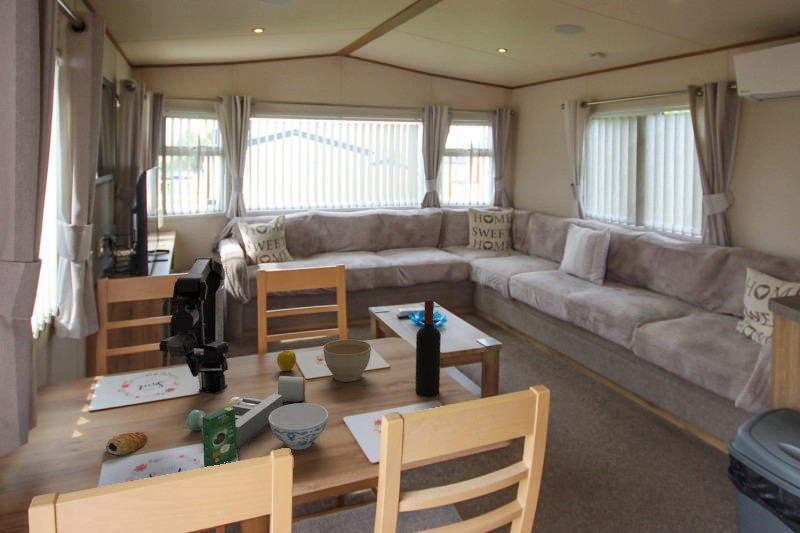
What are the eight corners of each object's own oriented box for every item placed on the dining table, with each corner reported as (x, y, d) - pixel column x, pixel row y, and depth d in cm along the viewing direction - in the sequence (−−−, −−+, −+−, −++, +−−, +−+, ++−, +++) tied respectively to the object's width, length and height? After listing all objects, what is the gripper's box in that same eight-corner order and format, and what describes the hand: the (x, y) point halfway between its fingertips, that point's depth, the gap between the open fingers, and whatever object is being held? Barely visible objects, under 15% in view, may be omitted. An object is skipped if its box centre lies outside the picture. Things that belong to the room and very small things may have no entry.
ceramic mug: (305, 404, 170) (305, 380, 169) (277, 406, 169) (277, 381, 168) (305, 391, 181) (305, 368, 179) (279, 392, 179) (278, 369, 178)
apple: (274, 373, 195) (274, 351, 193) (281, 366, 201) (281, 345, 199) (292, 374, 194) (292, 352, 192) (299, 368, 200) (298, 346, 198)
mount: (203, 441, 147) (202, 420, 146) (249, 409, 167) (248, 389, 166) (239, 449, 144) (238, 427, 143) (282, 414, 163) (282, 395, 162)
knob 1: (187, 432, 152) (186, 414, 151) (200, 424, 156) (199, 406, 156) (215, 438, 149) (214, 419, 148) (227, 429, 154) (226, 411, 153)
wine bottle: (411, 394, 178) (413, 301, 173) (420, 386, 185) (421, 296, 180) (434, 398, 175) (436, 304, 170) (442, 389, 182) (444, 298, 177)
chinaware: (269, 432, 153) (268, 405, 151) (325, 427, 156) (325, 400, 155) (269, 461, 138) (268, 431, 137) (331, 454, 142) (331, 425, 140)
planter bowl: (376, 370, 198) (376, 341, 196) (363, 388, 183) (363, 356, 181) (333, 366, 202) (332, 337, 200) (316, 383, 186) (315, 352, 184)
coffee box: (230, 453, 142) (227, 404, 139) (238, 457, 140) (235, 407, 138) (203, 468, 135) (200, 416, 132) (211, 471, 133) (208, 419, 131)
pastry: (137, 436, 150) (136, 423, 150) (153, 443, 147) (152, 429, 146) (103, 451, 142) (102, 437, 142) (120, 459, 139) (119, 444, 138)
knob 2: (228, 418, 160) (227, 401, 159) (239, 410, 165) (238, 394, 164) (255, 423, 157) (255, 405, 156) (266, 415, 162) (265, 398, 161)
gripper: (143, 326, 151) (147, 382, 154) (203, 332, 146) (206, 390, 148) (171, 316, 161) (174, 369, 164) (228, 322, 156) (230, 376, 159)
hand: (195, 376), depth 158 cm, fingers closed
